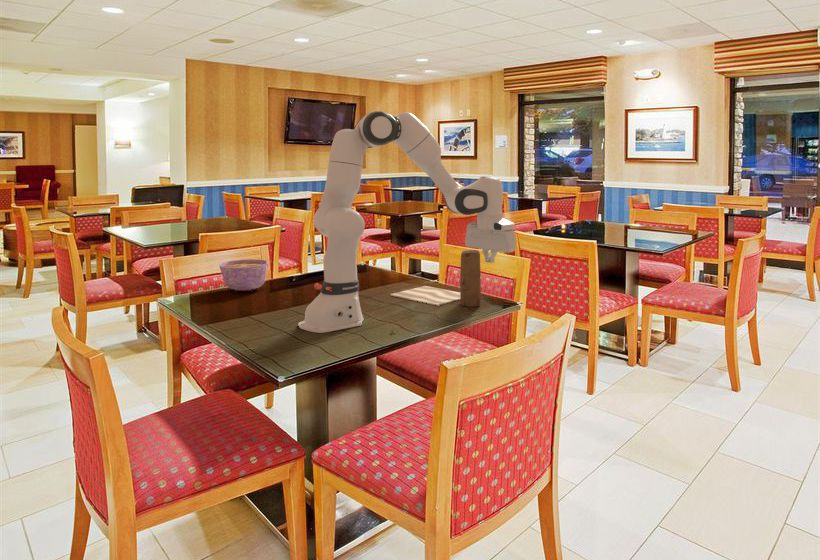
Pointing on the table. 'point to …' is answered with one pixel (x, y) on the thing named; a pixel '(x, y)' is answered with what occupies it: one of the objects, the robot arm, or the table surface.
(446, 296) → the board
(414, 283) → the table surface
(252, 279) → the bowl of food
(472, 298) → the block
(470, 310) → the table surface
